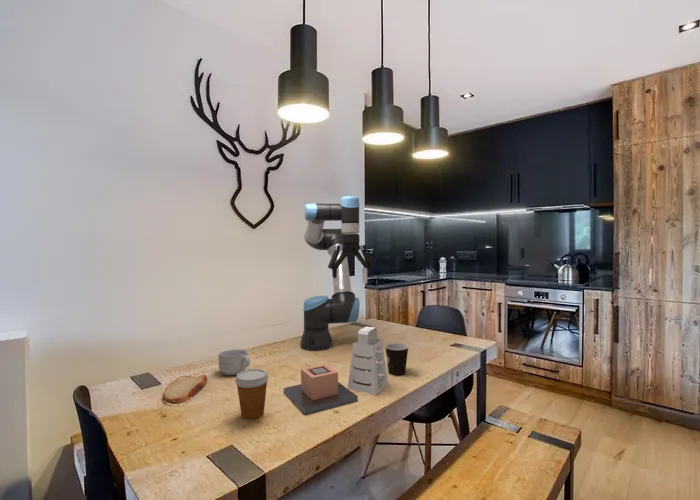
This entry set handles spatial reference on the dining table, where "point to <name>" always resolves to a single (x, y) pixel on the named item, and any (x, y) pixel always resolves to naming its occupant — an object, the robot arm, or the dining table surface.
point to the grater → (367, 362)
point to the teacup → (233, 361)
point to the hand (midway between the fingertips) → (351, 284)
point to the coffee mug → (396, 358)
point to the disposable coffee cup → (252, 392)
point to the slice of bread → (183, 388)
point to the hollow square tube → (319, 382)
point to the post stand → (323, 403)
